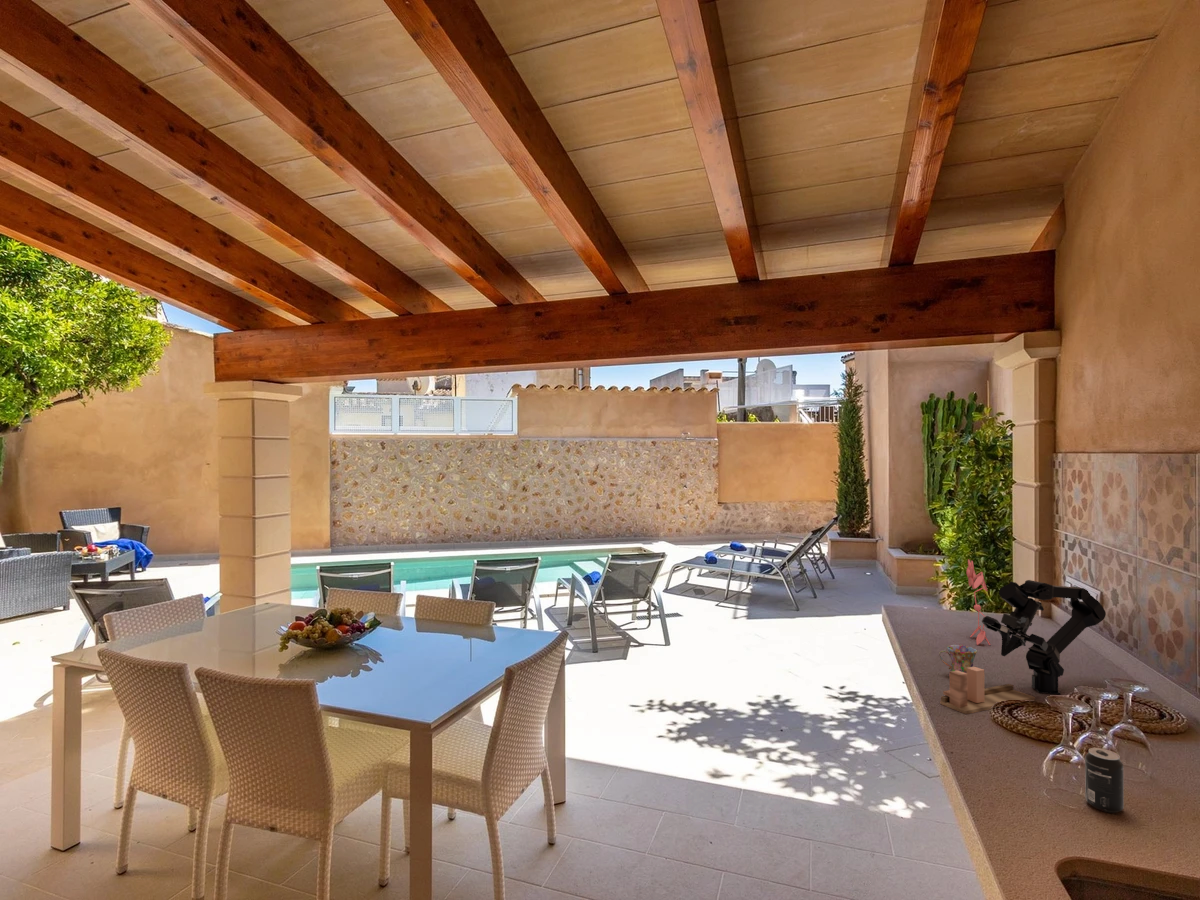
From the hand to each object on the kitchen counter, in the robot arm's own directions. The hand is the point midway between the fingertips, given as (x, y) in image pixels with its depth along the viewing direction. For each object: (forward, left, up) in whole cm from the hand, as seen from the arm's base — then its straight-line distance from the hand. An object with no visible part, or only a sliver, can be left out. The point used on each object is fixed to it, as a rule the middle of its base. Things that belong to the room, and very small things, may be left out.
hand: (1002, 655), depth 215 cm
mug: (+9, -16, -13) cm, 23 cm away
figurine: (-11, -69, -13) cm, 71 cm away
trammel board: (+7, +7, -13) cm, 16 cm away
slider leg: (+12, +9, -12) cm, 19 cm away
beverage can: (+4, +71, -13) cm, 73 cm away
